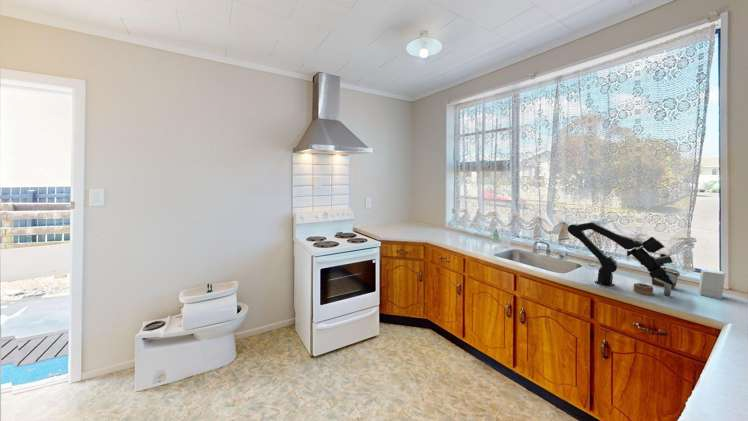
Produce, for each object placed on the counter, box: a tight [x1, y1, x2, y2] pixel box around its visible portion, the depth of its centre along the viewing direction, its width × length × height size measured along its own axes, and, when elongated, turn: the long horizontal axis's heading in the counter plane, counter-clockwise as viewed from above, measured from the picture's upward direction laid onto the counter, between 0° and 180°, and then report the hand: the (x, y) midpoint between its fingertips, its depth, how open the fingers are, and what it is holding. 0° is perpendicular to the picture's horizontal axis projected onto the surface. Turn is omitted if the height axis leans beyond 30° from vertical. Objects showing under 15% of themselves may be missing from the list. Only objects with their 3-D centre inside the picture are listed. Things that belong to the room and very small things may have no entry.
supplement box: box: [698, 268, 726, 300], centre depth 148 cm, size 7×7×13 cm
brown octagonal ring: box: [633, 282, 654, 295], centre depth 152 cm, size 7×7×4 cm
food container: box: [651, 266, 681, 291], centre depth 160 cm, size 12×6×10 cm, turn 22°
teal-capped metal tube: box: [663, 274, 672, 297], centre depth 147 cm, size 2×2×11 cm
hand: (672, 283), depth 146 cm, fingers closed on teal-capped metal tube, 2 cm apart
